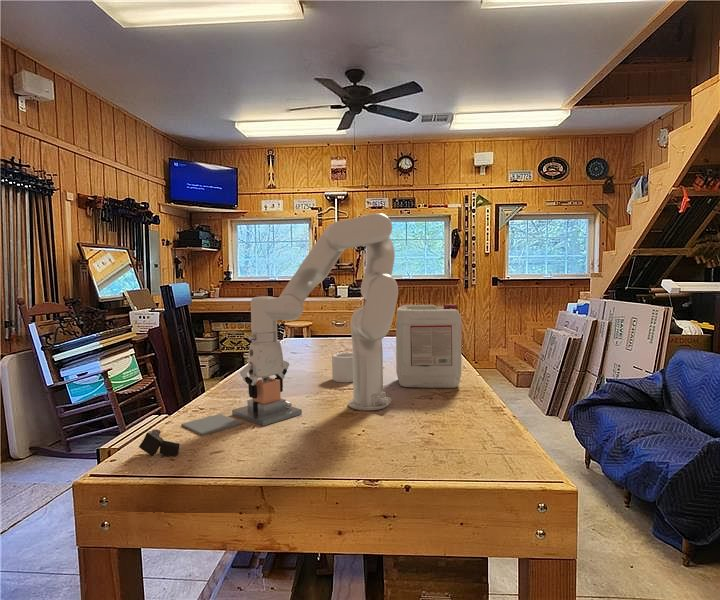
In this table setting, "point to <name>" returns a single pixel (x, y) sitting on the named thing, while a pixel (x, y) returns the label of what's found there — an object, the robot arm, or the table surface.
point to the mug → (342, 367)
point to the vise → (267, 410)
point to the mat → (211, 424)
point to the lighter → (158, 444)
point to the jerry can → (428, 346)
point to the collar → (267, 391)
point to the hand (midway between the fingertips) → (266, 394)
